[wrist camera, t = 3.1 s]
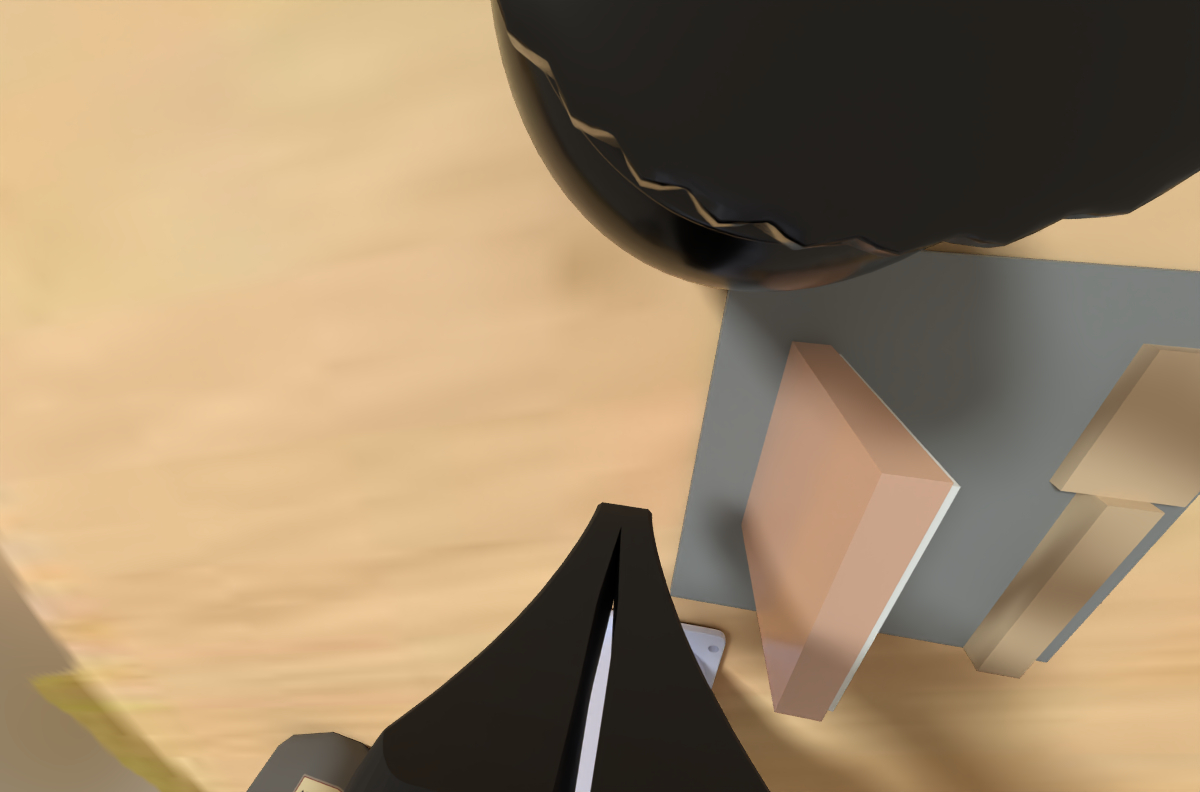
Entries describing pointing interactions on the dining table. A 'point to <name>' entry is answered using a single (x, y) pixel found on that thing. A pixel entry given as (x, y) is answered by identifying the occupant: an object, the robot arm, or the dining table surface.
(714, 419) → the mat
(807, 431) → the tile
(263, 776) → the liquor
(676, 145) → the supplement bottle
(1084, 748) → the dining table surface
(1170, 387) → the turner
